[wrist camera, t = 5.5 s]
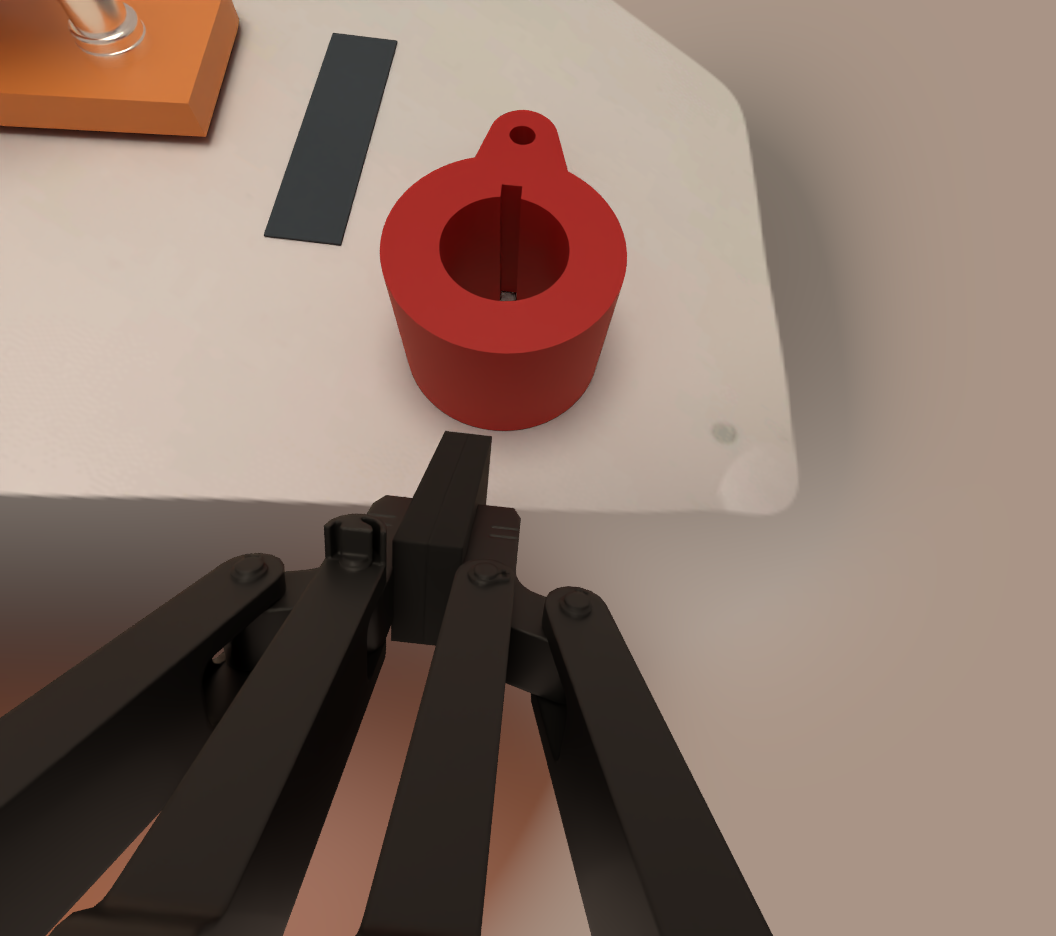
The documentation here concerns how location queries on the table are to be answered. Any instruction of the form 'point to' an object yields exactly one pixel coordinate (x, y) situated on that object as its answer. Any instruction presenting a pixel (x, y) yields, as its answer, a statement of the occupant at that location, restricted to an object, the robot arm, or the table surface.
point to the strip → (332, 141)
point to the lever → (504, 278)
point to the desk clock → (114, 64)
